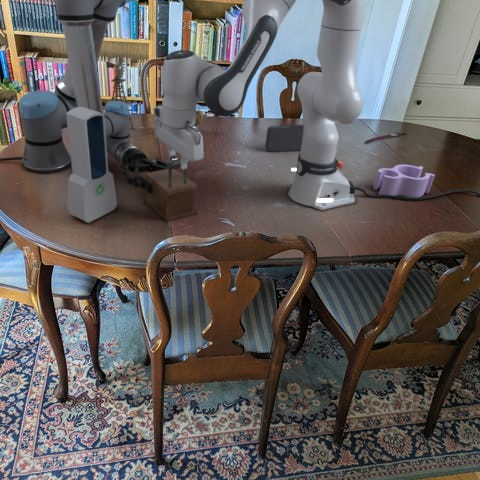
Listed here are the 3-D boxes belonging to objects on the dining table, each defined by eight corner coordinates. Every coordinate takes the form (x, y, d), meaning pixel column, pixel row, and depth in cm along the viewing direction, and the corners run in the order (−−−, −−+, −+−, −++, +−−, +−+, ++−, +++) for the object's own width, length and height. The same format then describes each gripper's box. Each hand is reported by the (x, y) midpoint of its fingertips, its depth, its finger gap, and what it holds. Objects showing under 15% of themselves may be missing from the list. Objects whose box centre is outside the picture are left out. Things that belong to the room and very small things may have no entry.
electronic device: (85, 224, 129) (74, 119, 113) (67, 215, 132) (53, 112, 116) (118, 208, 139) (112, 108, 122) (99, 200, 142) (92, 102, 125)
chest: (194, 213, 141) (195, 187, 136) (166, 221, 135) (166, 194, 131) (172, 195, 149) (173, 171, 144) (145, 202, 144) (145, 177, 139)
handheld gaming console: (315, 147, 196) (319, 124, 190) (317, 149, 194) (322, 126, 188) (264, 149, 189) (267, 125, 183) (266, 152, 187) (269, 127, 181)
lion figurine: (200, 128, 202) (201, 108, 197) (204, 133, 198) (205, 112, 193) (167, 129, 197) (167, 108, 192) (170, 134, 193) (170, 113, 188)
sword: (403, 131, 224) (404, 129, 223) (408, 133, 222) (409, 131, 221) (360, 143, 208) (360, 140, 207) (365, 145, 206) (366, 142, 205)
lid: (196, 188, 136) (197, 160, 131) (167, 195, 130) (167, 167, 126) (173, 171, 144) (173, 144, 139) (145, 176, 139) (144, 149, 134)
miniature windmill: (125, 135, 188) (121, 57, 171) (105, 132, 189) (100, 54, 172) (134, 128, 195) (131, 52, 179) (115, 125, 196) (110, 49, 180)
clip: (386, 199, 160) (391, 181, 156) (367, 183, 170) (371, 166, 166) (433, 195, 166) (439, 178, 163) (412, 180, 176) (417, 163, 172)
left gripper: (161, 162, 163) (196, 189, 148) (100, 174, 151) (132, 204, 136) (161, 142, 159) (197, 167, 144) (99, 153, 147) (131, 181, 132)
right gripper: (210, 127, 118) (207, 176, 126) (170, 103, 131) (169, 149, 139) (189, 130, 115) (187, 181, 122) (150, 106, 128) (150, 153, 135)
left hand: (165, 185), depth 140 cm, fingers closed on chest, 9 cm apart
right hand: (178, 164), depth 131 cm, fingers open, 4 cm apart
